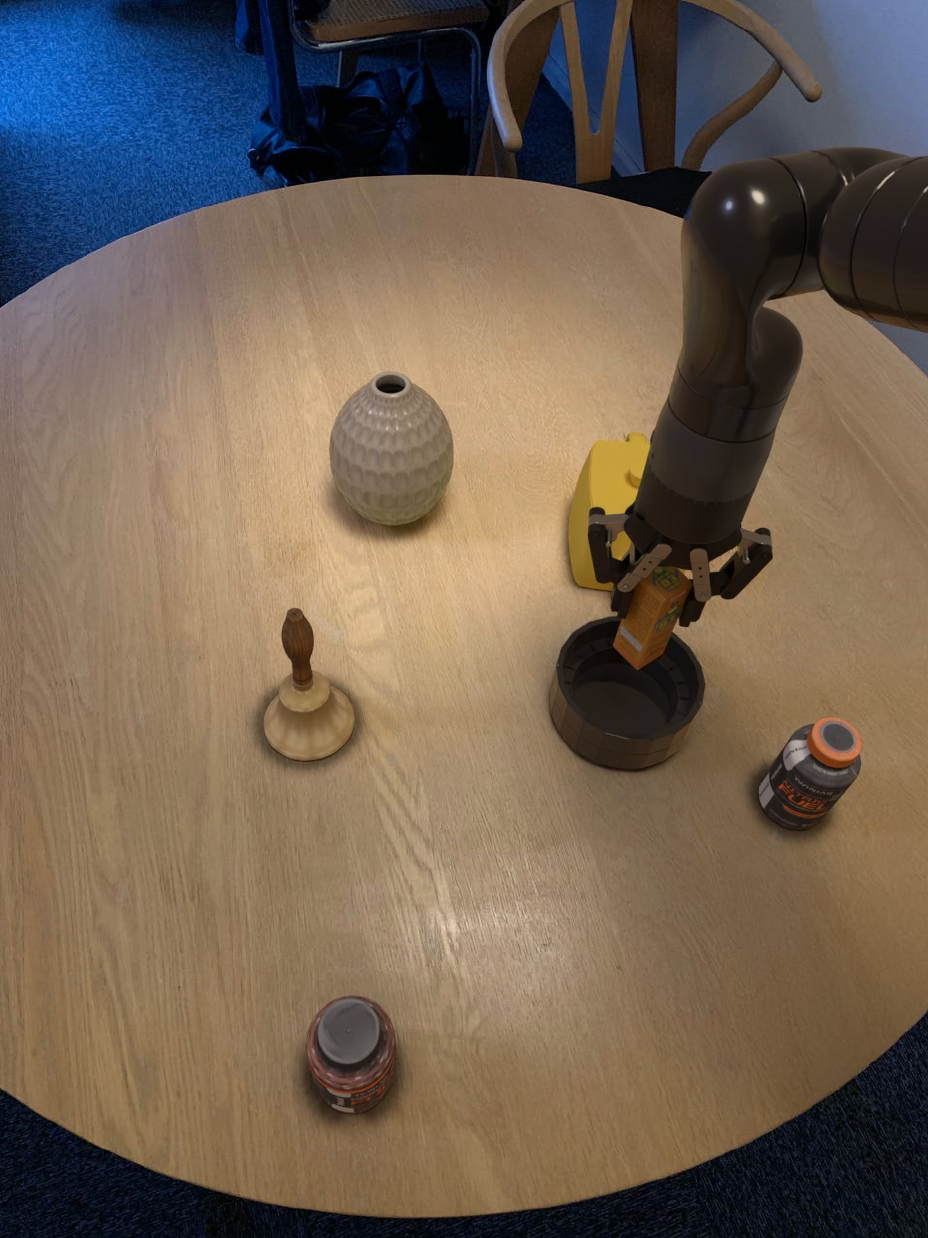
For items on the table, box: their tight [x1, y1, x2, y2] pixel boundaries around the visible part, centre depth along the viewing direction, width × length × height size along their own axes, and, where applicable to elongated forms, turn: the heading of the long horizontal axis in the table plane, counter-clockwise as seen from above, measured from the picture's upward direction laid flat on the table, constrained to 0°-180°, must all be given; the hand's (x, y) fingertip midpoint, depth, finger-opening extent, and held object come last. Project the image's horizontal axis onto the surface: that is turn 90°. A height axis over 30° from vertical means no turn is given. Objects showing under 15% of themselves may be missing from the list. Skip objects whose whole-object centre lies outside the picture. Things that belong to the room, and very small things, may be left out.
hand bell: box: [262, 607, 356, 762], centre depth 79 cm, size 8×8×16 cm
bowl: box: [548, 615, 706, 769], centre depth 85 cm, size 13×13×6 cm
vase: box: [328, 371, 455, 527], centre depth 96 cm, size 13×13×17 cm
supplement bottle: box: [305, 994, 398, 1115], centre depth 64 cm, size 6×6×11 cm
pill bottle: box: [758, 716, 863, 831], centre depth 79 cm, size 6×6×11 cm
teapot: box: [568, 432, 686, 592], centre depth 95 cm, size 20×12×12 cm, turn 175°
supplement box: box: [613, 566, 692, 670], centre depth 76 cm, size 3×3×10 cm
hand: (652, 613), depth 76 cm, fingers closed on supplement box, 4 cm apart
